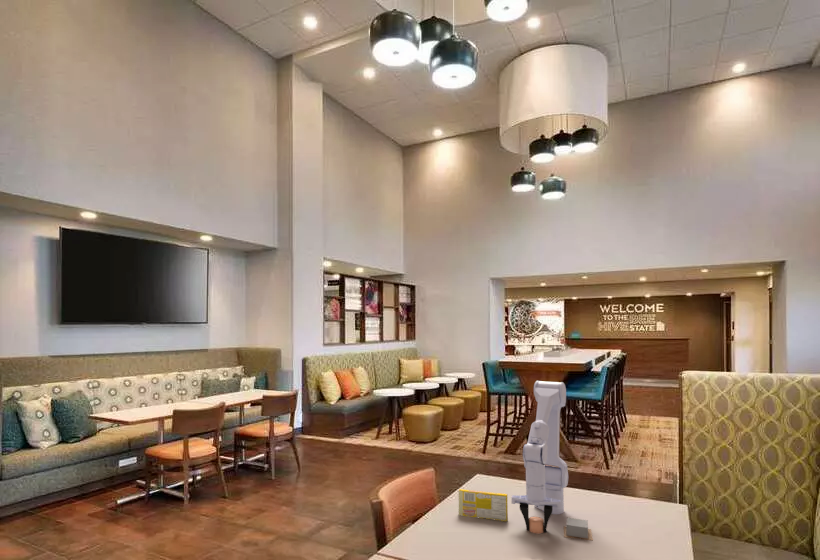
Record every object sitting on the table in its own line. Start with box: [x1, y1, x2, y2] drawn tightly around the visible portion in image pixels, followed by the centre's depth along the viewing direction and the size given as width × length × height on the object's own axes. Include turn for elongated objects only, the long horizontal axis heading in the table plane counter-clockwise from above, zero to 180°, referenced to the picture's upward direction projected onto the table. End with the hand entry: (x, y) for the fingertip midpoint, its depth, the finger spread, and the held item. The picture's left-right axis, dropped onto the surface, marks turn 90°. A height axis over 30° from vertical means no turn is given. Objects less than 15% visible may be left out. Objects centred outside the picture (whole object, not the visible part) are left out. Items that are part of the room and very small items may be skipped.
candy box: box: [458, 488, 509, 522], centre depth 165 cm, size 16×2×8 cm, turn 71°
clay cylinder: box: [528, 516, 545, 534], centre depth 151 cm, size 4×4×4 cm
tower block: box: [565, 517, 589, 539], centre depth 149 cm, size 6×6×3 cm
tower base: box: [563, 525, 594, 541], centre depth 149 cm, size 8×8×2 cm
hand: (536, 529), depth 151 cm, fingers closed on clay cylinder, 4 cm apart
